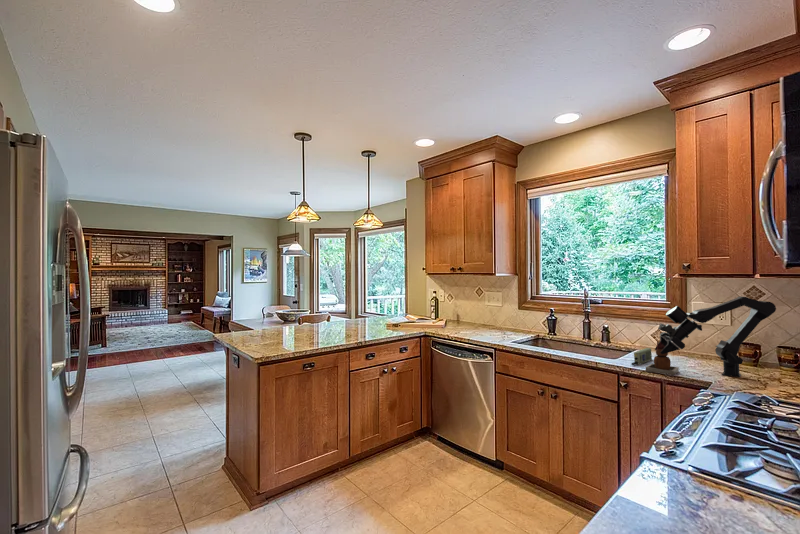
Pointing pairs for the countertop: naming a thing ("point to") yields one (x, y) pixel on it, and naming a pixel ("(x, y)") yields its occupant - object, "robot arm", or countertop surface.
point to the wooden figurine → (661, 358)
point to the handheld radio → (642, 356)
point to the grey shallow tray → (662, 370)
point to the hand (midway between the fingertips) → (658, 351)
